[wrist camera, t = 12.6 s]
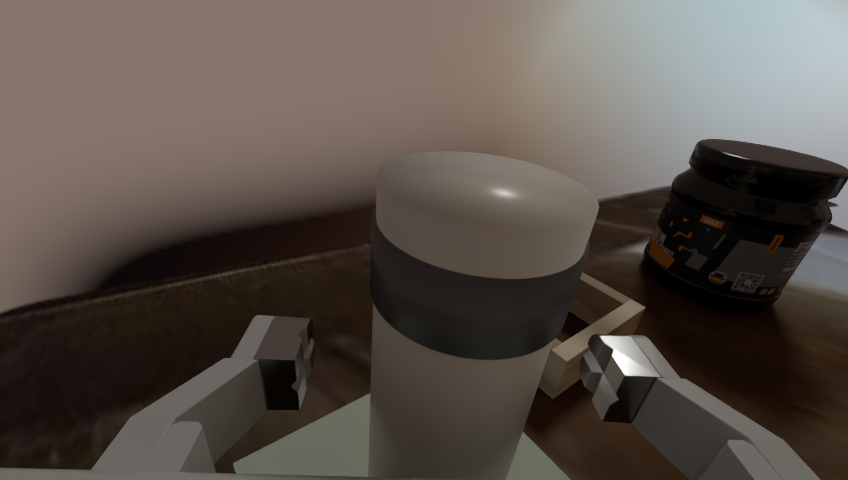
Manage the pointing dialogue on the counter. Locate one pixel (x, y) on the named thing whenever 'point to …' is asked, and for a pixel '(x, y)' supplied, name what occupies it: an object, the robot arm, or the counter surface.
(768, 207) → the supplement container
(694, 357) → the counter surface
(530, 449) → the mat
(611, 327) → the square wooden frame
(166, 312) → the counter surface
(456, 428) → the white capsule post
